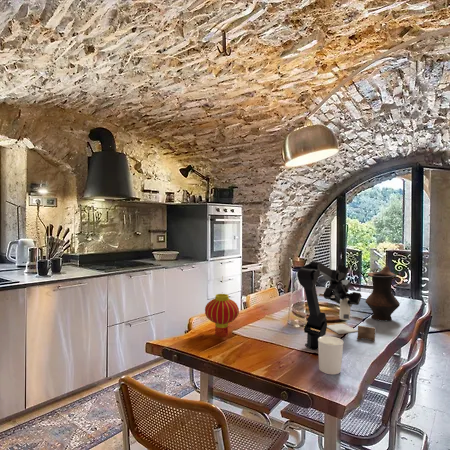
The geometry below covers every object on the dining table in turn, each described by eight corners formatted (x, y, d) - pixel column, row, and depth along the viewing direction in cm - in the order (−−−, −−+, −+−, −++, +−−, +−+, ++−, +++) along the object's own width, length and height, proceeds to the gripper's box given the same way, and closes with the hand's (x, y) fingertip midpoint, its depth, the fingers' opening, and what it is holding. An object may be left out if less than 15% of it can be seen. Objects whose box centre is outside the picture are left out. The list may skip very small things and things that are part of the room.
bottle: (338, 316, 191) (339, 291, 191) (348, 317, 191) (349, 292, 190) (340, 320, 186) (341, 294, 185) (351, 320, 185) (352, 294, 185)
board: (339, 334, 182) (339, 333, 182) (325, 326, 193) (325, 325, 193) (358, 331, 186) (358, 330, 186) (343, 324, 197) (343, 323, 197)
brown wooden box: (357, 338, 176) (357, 326, 176) (357, 336, 179) (358, 324, 179) (374, 341, 173) (375, 329, 173) (374, 338, 176) (375, 327, 176)
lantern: (241, 330, 185) (242, 273, 183) (233, 342, 168) (234, 280, 166) (210, 327, 189) (211, 271, 188) (199, 338, 173) (200, 277, 171)
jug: (395, 326, 196) (397, 272, 194) (360, 319, 207) (362, 268, 205) (403, 317, 212) (405, 267, 211) (370, 311, 224) (372, 264, 222)
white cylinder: (337, 364, 146) (338, 336, 146) (346, 375, 137) (347, 345, 136) (314, 364, 146) (314, 335, 146) (321, 375, 136) (322, 345, 136)
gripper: (361, 277, 178) (368, 295, 187) (326, 272, 191) (334, 289, 199) (354, 295, 173) (361, 313, 181) (319, 289, 185) (327, 306, 194)
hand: (346, 304), depth 189 cm, fingers closed on bottle, 5 cm apart
